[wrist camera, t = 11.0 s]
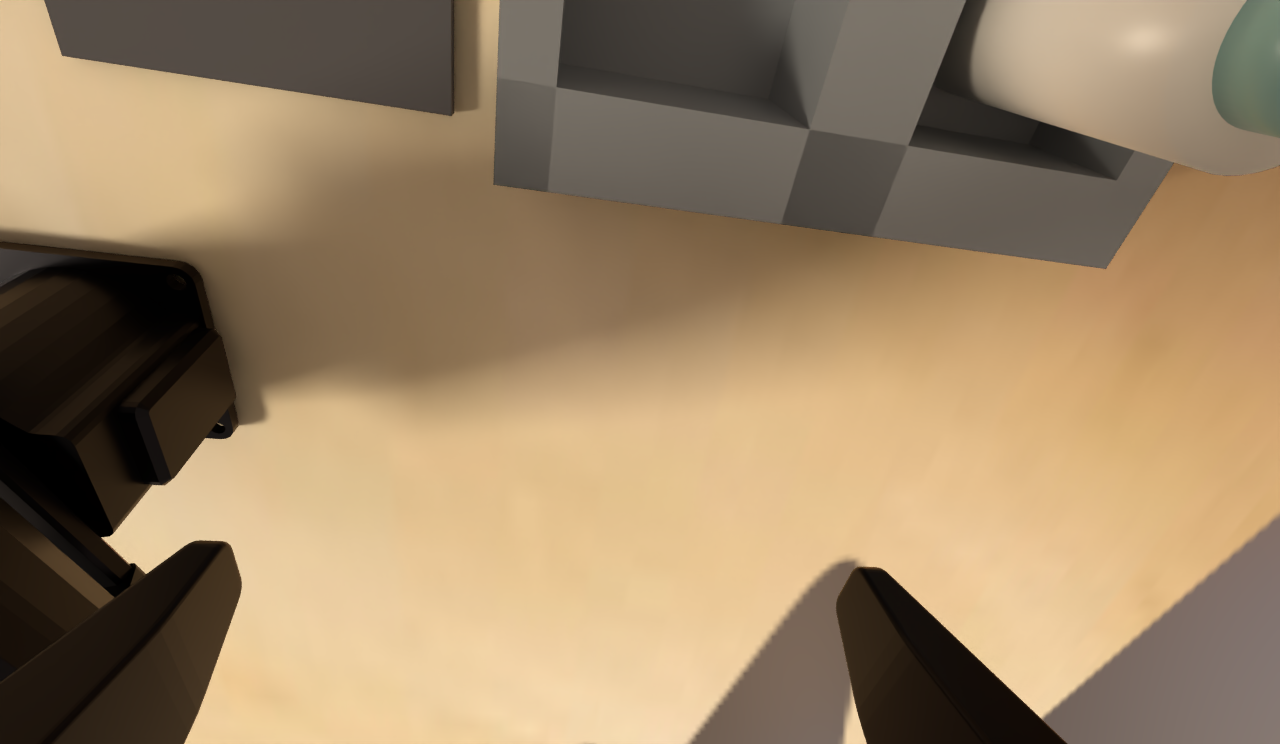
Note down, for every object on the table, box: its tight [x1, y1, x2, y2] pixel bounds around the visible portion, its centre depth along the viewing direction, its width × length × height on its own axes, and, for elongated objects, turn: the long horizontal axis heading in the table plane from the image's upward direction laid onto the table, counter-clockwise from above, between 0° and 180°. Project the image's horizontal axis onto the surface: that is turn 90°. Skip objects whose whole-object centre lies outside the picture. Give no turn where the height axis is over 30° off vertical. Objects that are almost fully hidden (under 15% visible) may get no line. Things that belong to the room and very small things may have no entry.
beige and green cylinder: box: [933, 0, 1280, 176], centre depth 12 cm, size 4×4×9 cm
